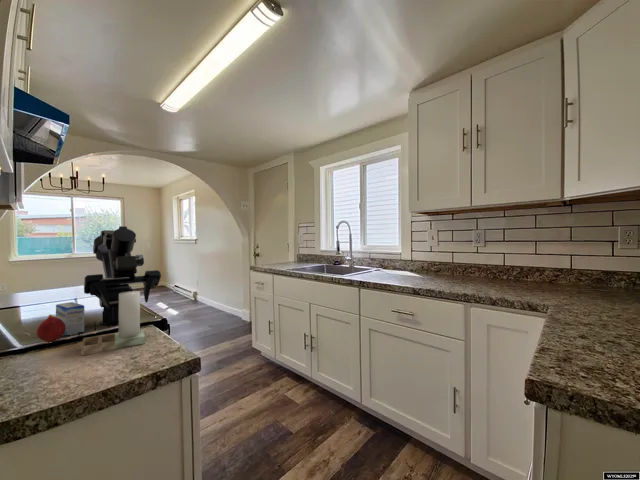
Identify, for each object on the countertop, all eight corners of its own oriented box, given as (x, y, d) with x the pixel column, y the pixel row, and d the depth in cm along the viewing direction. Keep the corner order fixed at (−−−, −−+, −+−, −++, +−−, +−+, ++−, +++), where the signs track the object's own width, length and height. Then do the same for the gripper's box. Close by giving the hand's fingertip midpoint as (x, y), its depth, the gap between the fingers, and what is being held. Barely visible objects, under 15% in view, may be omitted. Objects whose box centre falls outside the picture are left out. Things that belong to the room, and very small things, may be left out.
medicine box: (55, 332, 85) (55, 304, 85) (73, 327, 89) (73, 301, 89) (66, 336, 82) (66, 307, 81) (84, 332, 86) (84, 304, 85)
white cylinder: (121, 332, 80) (121, 291, 80) (141, 330, 82) (141, 290, 82) (116, 338, 75) (116, 295, 75) (137, 336, 77) (137, 294, 77)
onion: (69, 337, 81) (69, 311, 80) (59, 345, 75) (59, 316, 75) (44, 340, 79) (44, 312, 78) (31, 348, 73) (31, 318, 73)
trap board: (81, 355, 69) (81, 347, 69) (83, 345, 75) (83, 338, 75) (145, 343, 77) (145, 336, 77) (142, 334, 84) (142, 328, 84)
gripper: (84, 246, 76) (88, 292, 69) (159, 245, 89) (170, 284, 82) (82, 271, 82) (85, 316, 74) (153, 267, 95) (162, 304, 88)
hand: (128, 304), depth 79 cm, fingers open, 9 cm apart
